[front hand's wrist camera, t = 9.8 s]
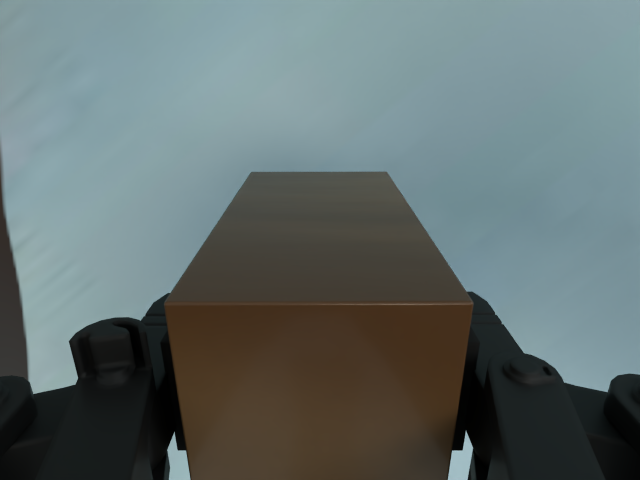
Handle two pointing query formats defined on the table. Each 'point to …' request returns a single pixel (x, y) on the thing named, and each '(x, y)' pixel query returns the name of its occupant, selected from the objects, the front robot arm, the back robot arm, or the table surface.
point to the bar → (318, 336)
